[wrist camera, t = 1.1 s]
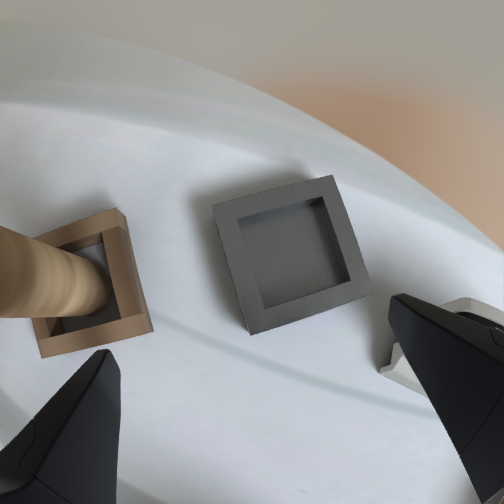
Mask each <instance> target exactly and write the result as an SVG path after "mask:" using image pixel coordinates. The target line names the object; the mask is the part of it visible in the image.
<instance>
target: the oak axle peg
mask: <svg viewBox="0 0 504 504" xmlns="http://www.w3.org/2000/svg"><path fill="white" fill-rule="evenodd" d="M110 296H111V280H110V277H109V275H108V273H107V271H106V270H105V268H104V267H103V266H101V265H100V264H99V263H97V262H94V261H91V260H89V259H86V258H83V257H80V256H77V255H75V254H72V253H69V252H66V251H64V250H61V249H58V248H56V247H53V246H50V245H48V244H45V243H42V242H40V241H37V240H34V239H32V238H29V237H27V236H24V235H22V234H19V233H17V232H14V231H12V230H9V229H7V228H4V227H2V226H0V318H34V317H68V316H91V315H95V314H97V313H99V312H100V311H102V310H103V309H104V308H105V307H106V305H107V303H108V302H109V299H110Z"/></svg>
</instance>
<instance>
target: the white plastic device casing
mask: <svg viewBox="0 0 504 504" xmlns="http://www.w3.org/2000/svg"><path fill="white" fill-rule="evenodd" d="M438 307H440V308H443V309H445V310H448V311H450V312H453V313H455V314H458V315H460V316H463V317H465V318H468V319H470V320H473V321H475V322H478V323H480V324H483V325H485V326H488V328H489V327H490V328H493V329H495V330H498V331H500V332H503V333H504V312H503V311H501V310H499V309H497V308H495V307H493V306H490V305H488V304H486V303H483V302H480V301H478V300H475V299H472V298H460V299H457V300H455V301H452V302H449V303H447V304H444V305H441V306H438ZM379 374H381V375H383V376H385V377H387V378H389V379H391V380H393V381H395V382H397V383H399V384H401V385H403V386H405V387H407V388H409V389H411V390H413V391H415V392H417V393H420V394H422V395H424V396H426V397H428V396H427V394H426V392H425V391H424V389H423V387H422V385H421V384H420V382H419V380H418V378H417V377H416V375H415V373H414V372H413V370H412V368H411V366H410V365H409V363H408V361H407V359H406V358H405V356H404V354H403V351H402V349H401V347H400V345H399V343H394V344H393V352H392V359H391V365H388V366H384V367H381V368H380V370H379Z"/></svg>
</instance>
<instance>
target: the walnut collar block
mask: <svg viewBox="0 0 504 504" xmlns="http://www.w3.org/2000/svg"><path fill="white" fill-rule="evenodd" d="M33 239H34V240H37V241H40V242H42V243H45V244H48V245H50V246H53V247H56V248H58V249H61V250H64V251H66V252H69V253H72V252H75V251H77V250H80V249H83V248H86V247H89V246H92V245H95V244H98V243H101V242H104V247H105V252H106V256H107V261H108V266H109V270H110V275H111V279H112V284H113V288H114V292H115V296H116V300H117V304H118V308H119V312H120V315H121V319H120V320H116V321H112V322H108V323H105V324H101V325H97V326H93V327H89V328H86V329H82V330H78V331H74V332H70V333H66V334H64V330H63V326H62V322H61V317H34V318H31V319H32V323H33V328H34V332H35V336H36V340H37V344H38V348H39V351H40V355H41V358H47V357H51V356H56V355H60V354H65V353H69V352H74V351H78V350H82V349H87V348H91V347H95V346H99V345H104V344H108V343H112V342H116V341H120V340H124V339H128V338H132V337H136V336H140V335H143V334H147V333H150V332H153V331H154V330H153V326H152V323H151V319H150V316H149V312H148V309H147V305H146V302H145V298H144V294H143V290H142V286H141V282H140V278H139V274H138V270H137V266H136V262H135V258H134V253H133V249H132V244H131V240H130V235H129V230H128V226H127V221H126V217H125V216H124V215H123V214H122V213H121V212H120V211H119V210H117V209H116V208H113V209H110V210H107V211H104V212H102V213H99V214H96V215H93V216H90V217H88V218H85V219H82V220H79V221H77V222H74V223H71V224H69V225H66V226H63V227H61V228H58V229H56V230H53V231H50V232H48V233H45V234H43V235H40V236H38V237H35V238H33Z"/></svg>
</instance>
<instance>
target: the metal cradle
mask: <svg viewBox="0 0 504 504" xmlns="http://www.w3.org/2000/svg"><path fill="white" fill-rule="evenodd" d="M212 210H213V215H214V219H215V222H216V226H217V229H218V233H219V236H220V239H221V243H222V246H223V250H224V253H225V257H226V260H227V263H228V267H229V270H230V273H231V277H232V280H233V283H234V287H235V290H236V293H237V297H238V300H239V303H240V306H241V310H242V313H243V316H244V319H245V323H246V326H247V329H248V332H249V334H250V336H251V335H254V334H258V333H261V332H264V331H267V330H270V329H273V328H277V327H280V326H283V325H286V324H289V323H292V322H295V321H298V320H301V319H304V318H307V317H310V316H313V315H315V314H318V313H321V312H324V311H327V310H330V309H332V308H335V307H338V306H341V305H343V304H346V303H349V302H352V301H354V300H357V299H360V298H362V297H365V296H367V295H370V294H373V290H372V287H371V283H370V280H369V277H368V274H367V270H366V267H365V264H364V261H363V258H362V255H361V252H360V249H359V246H358V243H357V240H356V237H355V234H354V231H353V228H352V225H351V223H350V220H349V217H348V214H347V211H346V209H345V206H344V203H343V201H342V198H341V195H340V193H339V190H338V188H337V185H336V182H335V180H334V177H333V175H329V176H325V177H320V178H316V179H312V180H308V181H304V182H300V183H296V184H291V185H287V186H283V187H280V188H276V189H272V190H268V191H264V192H260V193H256V194H253V195H249V196H245V197H241V198H238V199H234V200H230V201H227V202H223V203H220V204H216V205H212Z"/></svg>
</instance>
